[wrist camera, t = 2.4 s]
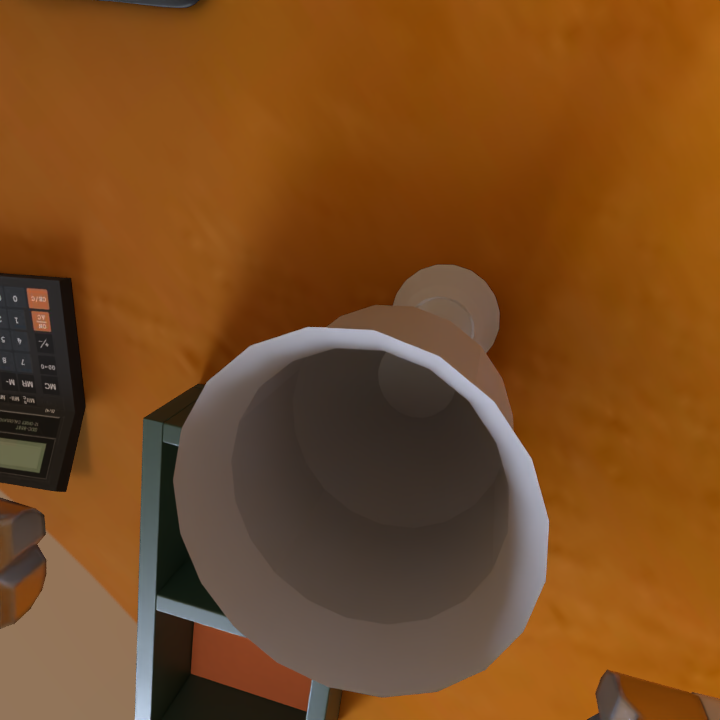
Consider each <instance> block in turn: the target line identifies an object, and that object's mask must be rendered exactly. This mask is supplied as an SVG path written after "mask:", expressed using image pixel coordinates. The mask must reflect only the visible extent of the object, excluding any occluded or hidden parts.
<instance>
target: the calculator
mask: <svg viewBox="0 0 720 720" xmlns="http://www.w3.org/2000/svg"><path fill="white" fill-rule="evenodd" d="M84 411H85V400H84V391H83V383H82V374H81V365H80V356H79V348H78V339H77V330H76V321H75V312H74V304H73V295H72V286H71V278H60V277H46V276H32V275H18V274H4V273H0V482H1V483H7V484H13V485H19V486H26V487H32V488H38V489H44V490H50V491H59V492H66V490H67V486H68V481H69V477H70V472H71V468H72V464H73V459H74V455H75V450H76V446H77V442H78V437H79V433H80V428H81V424H82V419H83V415H84Z"/></svg>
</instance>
